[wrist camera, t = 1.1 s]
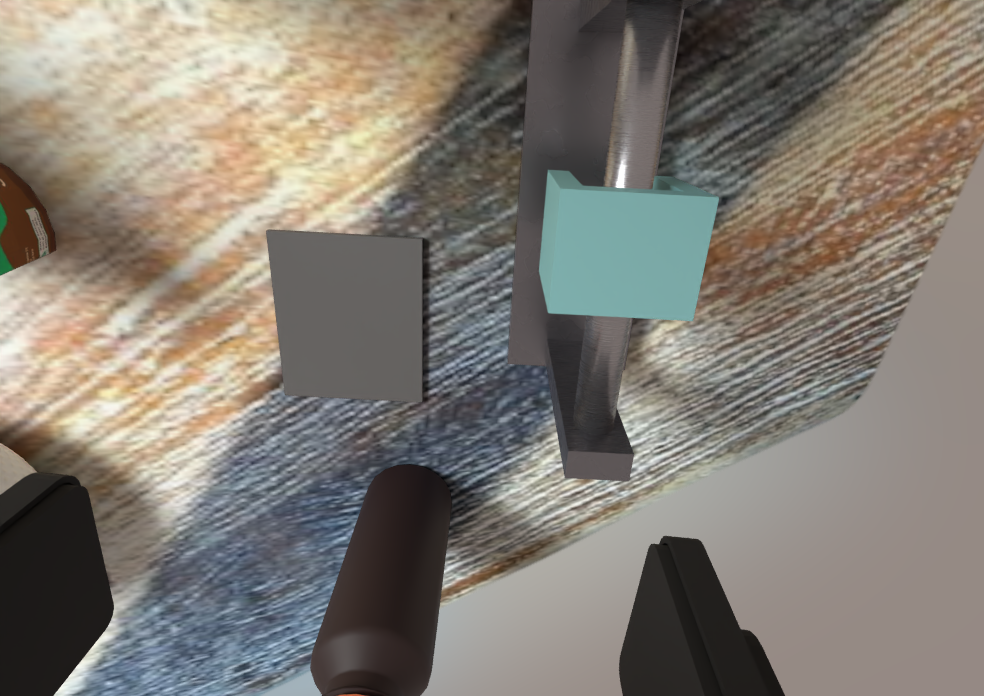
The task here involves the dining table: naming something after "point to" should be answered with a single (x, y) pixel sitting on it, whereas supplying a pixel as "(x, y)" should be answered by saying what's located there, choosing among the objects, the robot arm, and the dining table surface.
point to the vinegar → (387, 590)
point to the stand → (593, 162)
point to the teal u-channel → (624, 248)
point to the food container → (21, 223)
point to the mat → (349, 314)
